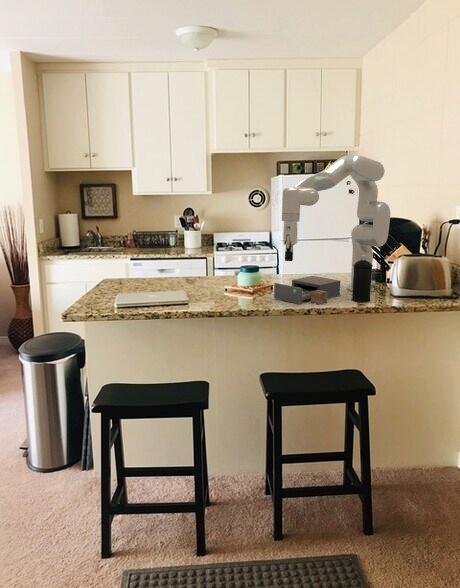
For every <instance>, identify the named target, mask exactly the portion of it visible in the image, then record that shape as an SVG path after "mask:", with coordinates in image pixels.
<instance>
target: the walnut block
mask: <svg viewBox="0 0 460 588" xmlns="http://www.w3.org/2000/svg"><path fill="white" fill-rule="evenodd" d="M309 302H311V303H310V304H314V303H316V304H315V305H318V304H321V305H324V304H323V303H325V304H327V303H328V299H327V292H326V291H321V290H315V291H311V299H310V301H309Z"/></svg>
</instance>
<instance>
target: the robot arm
mask: <svg viewBox="0 0 460 588" xmlns="http://www.w3.org/2000/svg"><path fill="white" fill-rule="evenodd" d="M385 171H386V170H385V167H384V165H383V163H382V162H379V161H378V160H375V159H371V158H369V157H366V156H363V155H360V154H359V155H358V154H357V155H344V156H341V157H340V158H338V159H336V160H335V161H334V162H333V163H331V164H330V165H329V166H328V167H326V168H324V169H323V170H322V171H319V172H317V173H315V174H314V175H311V176H309V177H307V178H305V179H303V180H301V181H300V182H298V183H297V184H296V185H295V186H293V187H285V188H283V190H282V200H281V202H282V203H281V205H282V206H281V221H282V222H283V235H282V237H283V238H282V239H283V240H282V241H283V243H282V244H283V245H284V246H285V252H284V261H285V262H293V260H294V246H295V245H297V244H298V223H299V222H300V218H301V215H300V213H301V206H307V207H308V206H309V207H310V206H314V205H316V204H317V203H318V202H319V199H320V194H319V192H321V191H326V190H329V189H332V188H334V187H337V185H338V184H339V183H341V182H342V181H343V180H344V179H346V178H347V177H349V176H350V177H351V179H352V180H353V181H354V182H355V184H356V185H357V188H358V199H357V207H356V209H357V210H356V217H357V219H358V220H360V221H363V222H366V224H365V223H364V224H363V223H362V224H361V223H360V224H356V225H355V226H354V227H353V228H352V229H351V234H350V236H351V243H352V244H351V245H352V255H351V256H352V258H351V270H350V273H351V274H350V285H348V286H347V288H346V289H347V291H349V292H351V293H352V292H353V275H354V264H355V263H356V262H357V261H360V260H361V256H362V255H366V261H368V262H370V263H371V264H372V265H373V260H374V253H373V248H372V247H378V248H379V247H382V246H384V245H385V244H386V242H387V241H388V237H389V232H390V231H389V230H390V221H391V209H390V205H389V204H388V203H386V202H385V201H378V194H379V189H378V186H377V183H376V182H378V181H380V180H382V178H383V177H384V176H385ZM367 222H369V223H372V224H367ZM375 284H376V280H372V277H371V292H370V293H373V292H374V291H375V288H374V287H373V285H375Z"/></svg>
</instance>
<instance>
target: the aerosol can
mask: <svg viewBox="0 0 460 588" xmlns="http://www.w3.org/2000/svg"><path fill="white" fill-rule="evenodd" d="M373 266H374V265H373V263H372V264H371V263H370V262H368V261H366V255H362V256H361V260H360V261H357V262H356V263H355V264H354V275H353V292H352V291H351V293H352V294H351V295H352V296H351V301H353V302H355V303H356V302H357V303H369V302H371V293H372V292H371V287H372V285H371V280H372V278H371V277H372V276H373V275H372V274H373Z"/></svg>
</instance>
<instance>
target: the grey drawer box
mask: <svg viewBox="0 0 460 588" xmlns="http://www.w3.org/2000/svg"><path fill="white" fill-rule="evenodd" d="M291 286H293V287H299V288H302V289H307V290H312V291H315V290H321V291H326V292H327V298H328V299H331V297H332V298H336V297H339V295H340V294H341V280H339V279H334V278H333V279H332V278H328V277H321V276H316V275H309V276H304V277H300V278H294V279H291Z"/></svg>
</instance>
